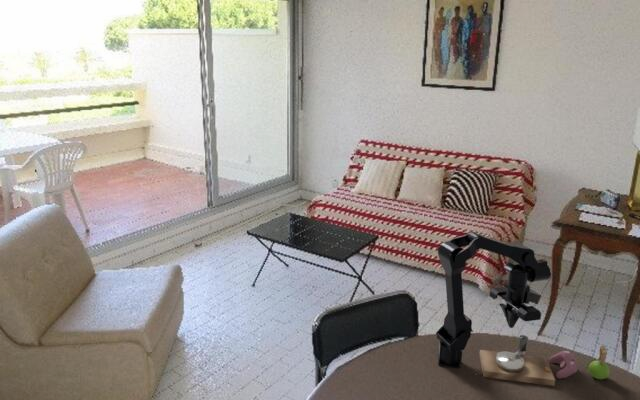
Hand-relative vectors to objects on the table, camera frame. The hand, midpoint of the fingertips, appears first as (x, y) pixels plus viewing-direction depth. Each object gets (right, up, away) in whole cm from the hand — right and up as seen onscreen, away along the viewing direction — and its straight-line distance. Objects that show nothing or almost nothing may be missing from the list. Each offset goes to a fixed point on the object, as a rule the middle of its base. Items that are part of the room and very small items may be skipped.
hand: (511, 327), depth 163 cm
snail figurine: (+22, -13, -12) cm, 28 cm away
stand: (-2, -11, -8) cm, 14 cm away
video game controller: (+13, -12, -8) cm, 19 cm away
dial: (-2, -9, -8) cm, 12 cm away
